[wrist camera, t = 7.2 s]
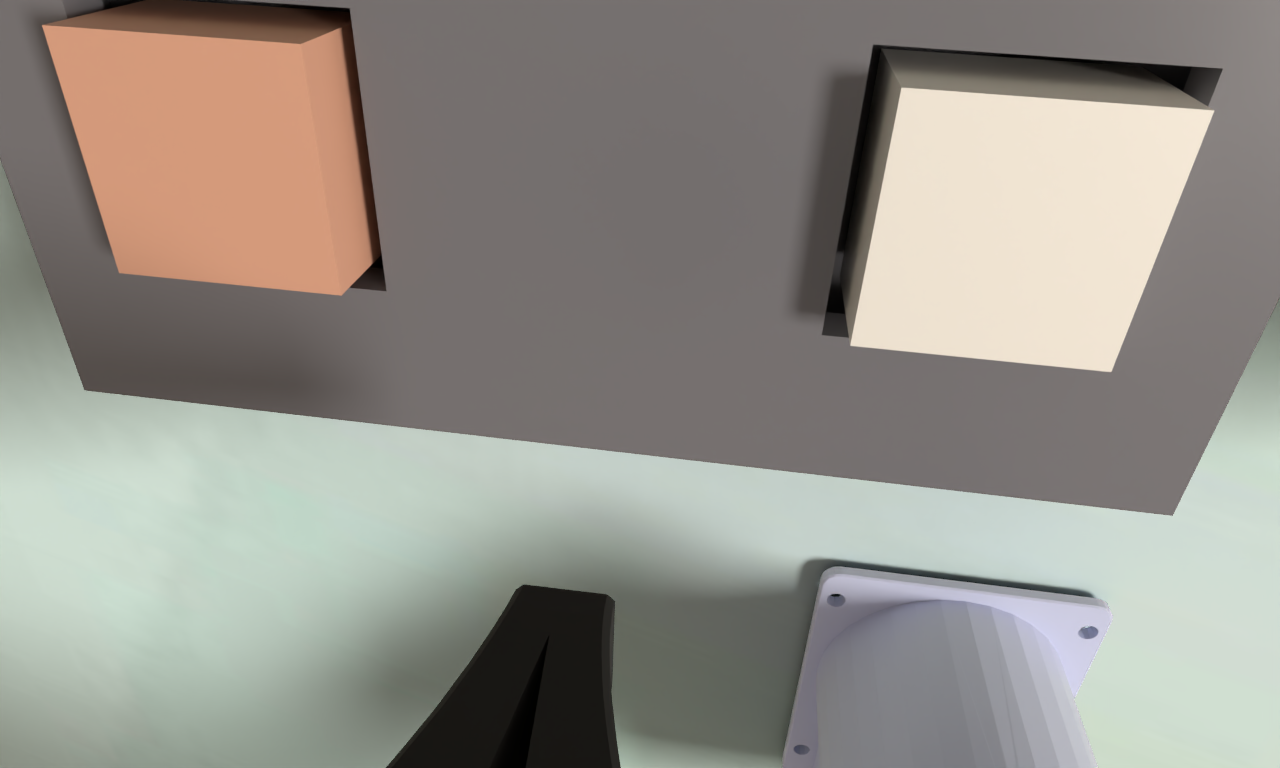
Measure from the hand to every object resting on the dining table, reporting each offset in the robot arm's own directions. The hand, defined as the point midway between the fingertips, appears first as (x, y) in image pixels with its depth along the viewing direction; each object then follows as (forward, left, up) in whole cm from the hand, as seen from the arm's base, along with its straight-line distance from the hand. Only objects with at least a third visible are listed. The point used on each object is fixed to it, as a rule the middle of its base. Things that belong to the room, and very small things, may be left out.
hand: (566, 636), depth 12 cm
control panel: (+5, +1, -10) cm, 11 cm away
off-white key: (+5, -6, -8) cm, 11 cm away
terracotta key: (+5, +8, -8) cm, 12 cm away
